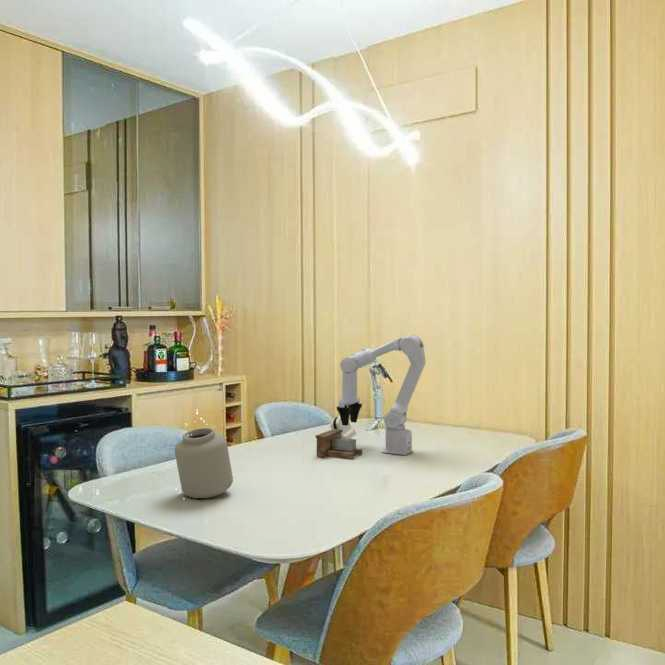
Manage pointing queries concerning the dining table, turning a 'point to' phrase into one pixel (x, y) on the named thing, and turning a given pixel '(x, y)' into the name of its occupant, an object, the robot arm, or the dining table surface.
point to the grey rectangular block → (344, 445)
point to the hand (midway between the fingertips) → (349, 423)
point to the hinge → (342, 428)
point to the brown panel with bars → (326, 445)
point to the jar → (203, 463)
